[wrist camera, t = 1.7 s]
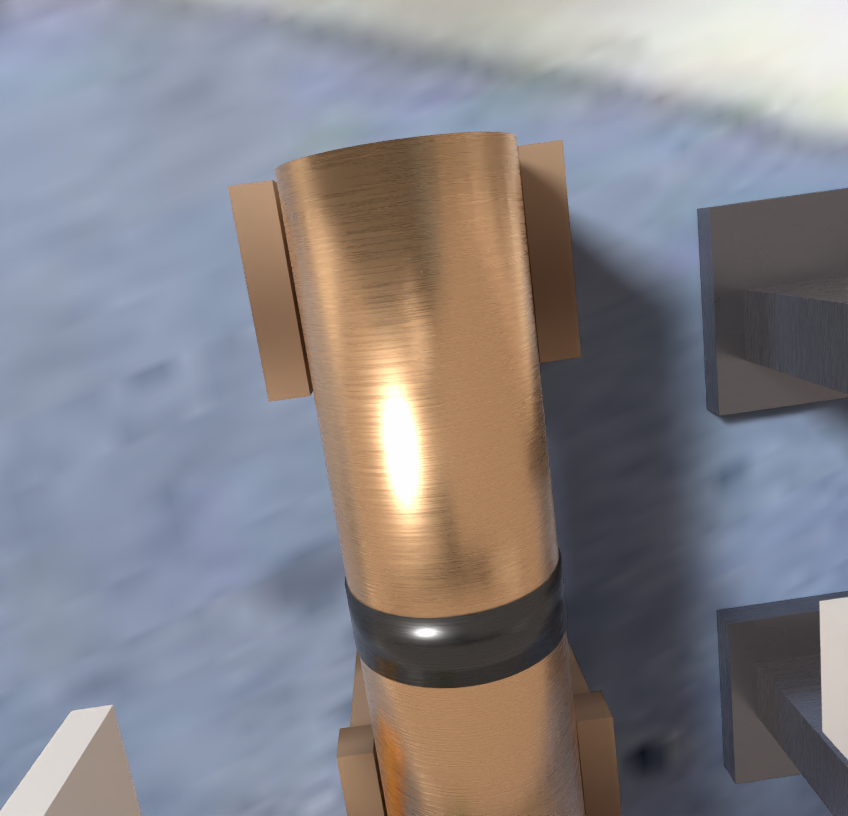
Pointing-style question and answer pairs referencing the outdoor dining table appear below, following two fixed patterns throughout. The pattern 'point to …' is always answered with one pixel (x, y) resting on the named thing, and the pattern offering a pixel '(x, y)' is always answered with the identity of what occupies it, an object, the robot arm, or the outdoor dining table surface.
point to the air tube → (439, 467)
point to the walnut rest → (292, 379)
